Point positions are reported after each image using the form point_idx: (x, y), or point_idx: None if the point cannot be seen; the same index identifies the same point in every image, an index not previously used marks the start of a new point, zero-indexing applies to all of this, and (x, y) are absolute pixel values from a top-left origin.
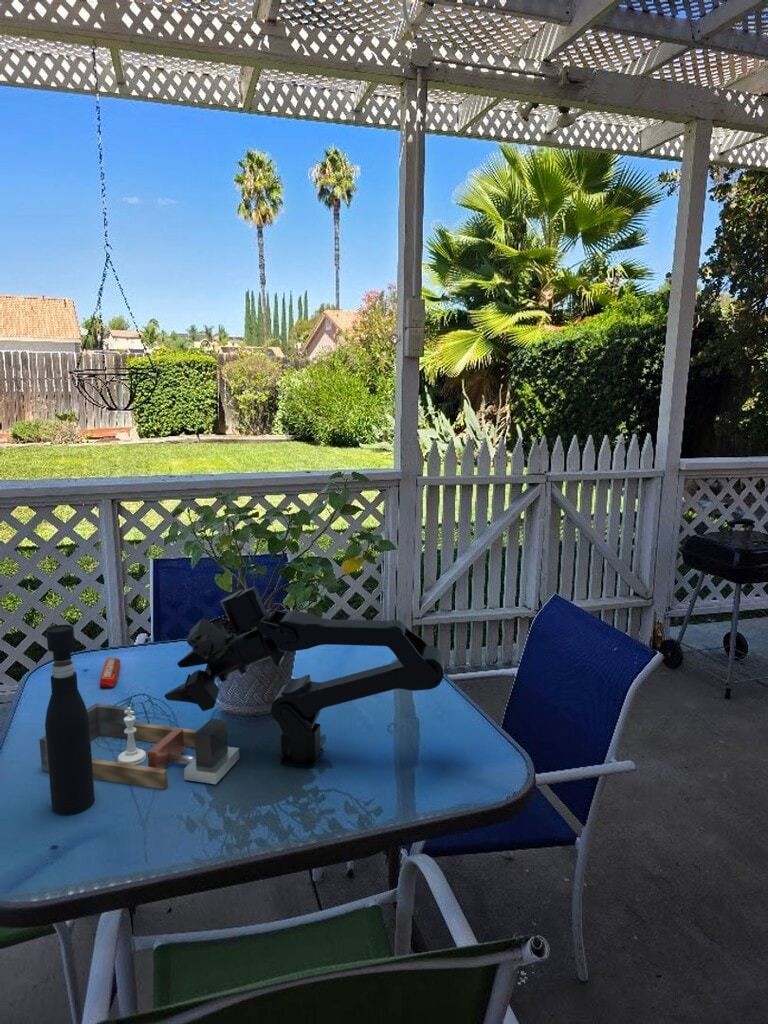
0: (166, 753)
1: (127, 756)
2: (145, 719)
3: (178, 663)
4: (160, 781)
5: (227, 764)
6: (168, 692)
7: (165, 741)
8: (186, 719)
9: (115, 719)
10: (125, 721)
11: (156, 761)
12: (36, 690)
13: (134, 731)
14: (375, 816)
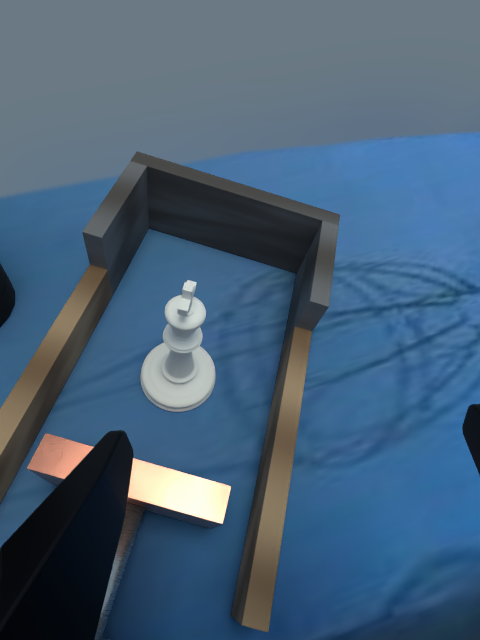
0: None
1: (159, 363)
2: (388, 350)
3: (475, 412)
4: None
5: None
6: (104, 455)
7: None
8: (418, 465)
9: (305, 281)
10: (167, 304)
11: (38, 475)
12: (441, 146)
13: (173, 349)
14: None
